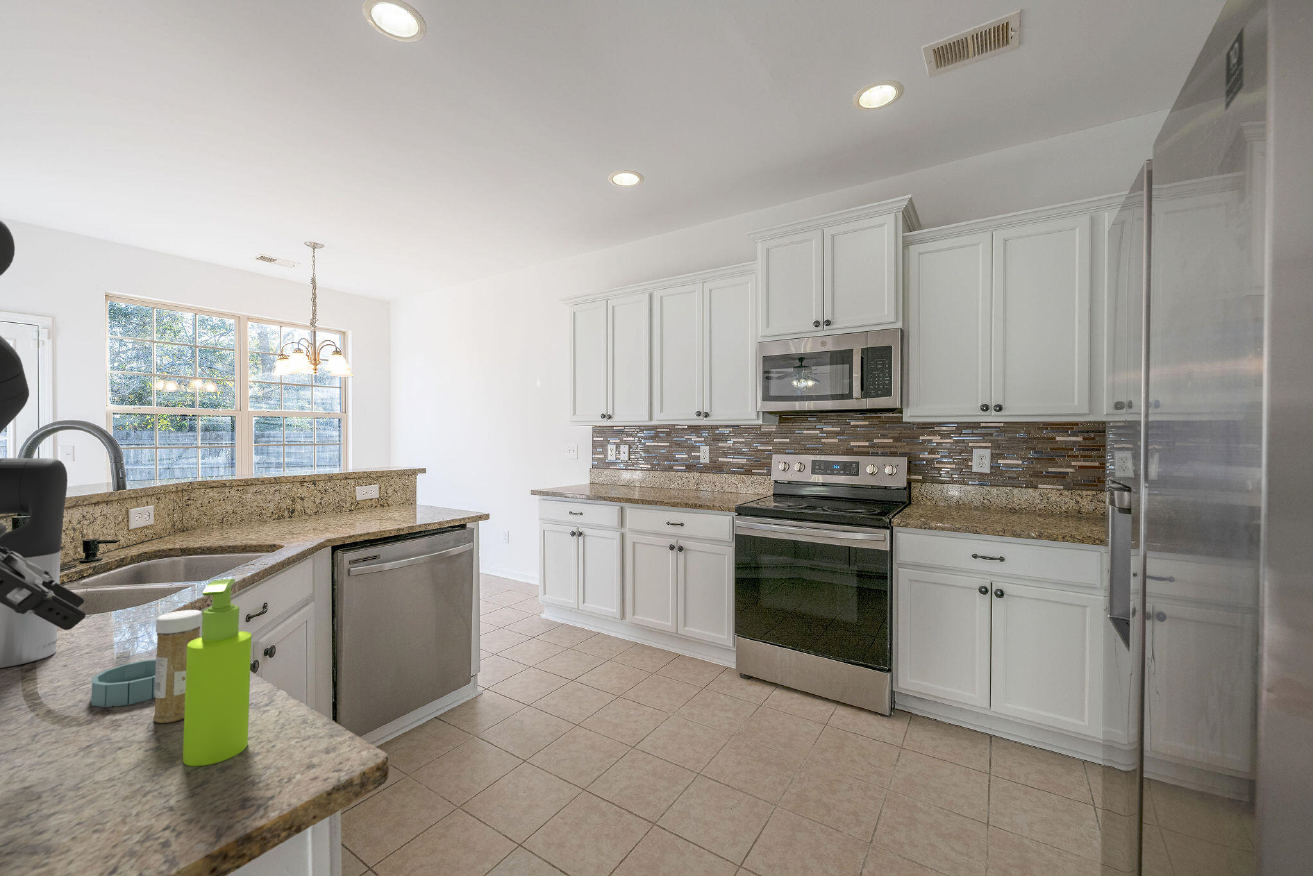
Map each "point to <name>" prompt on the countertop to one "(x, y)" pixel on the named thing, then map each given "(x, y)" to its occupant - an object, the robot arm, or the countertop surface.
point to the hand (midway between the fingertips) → (77, 614)
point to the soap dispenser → (217, 683)
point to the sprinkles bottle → (173, 662)
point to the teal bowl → (124, 684)
